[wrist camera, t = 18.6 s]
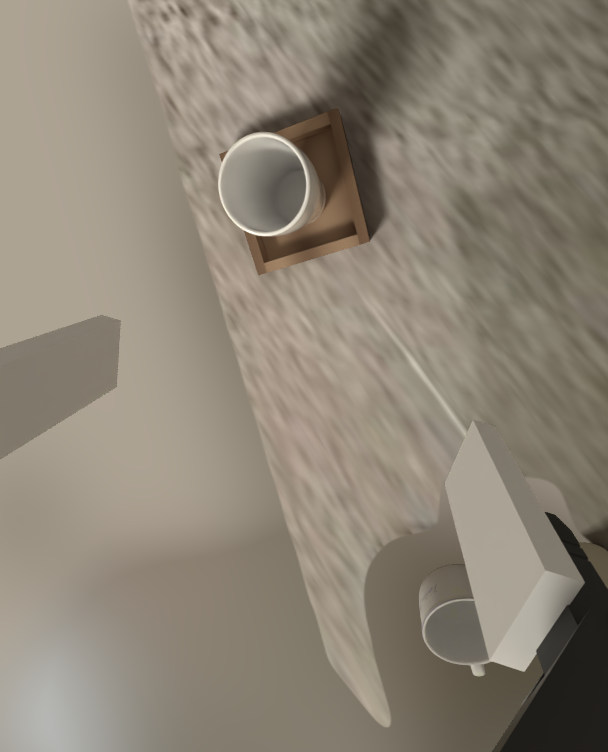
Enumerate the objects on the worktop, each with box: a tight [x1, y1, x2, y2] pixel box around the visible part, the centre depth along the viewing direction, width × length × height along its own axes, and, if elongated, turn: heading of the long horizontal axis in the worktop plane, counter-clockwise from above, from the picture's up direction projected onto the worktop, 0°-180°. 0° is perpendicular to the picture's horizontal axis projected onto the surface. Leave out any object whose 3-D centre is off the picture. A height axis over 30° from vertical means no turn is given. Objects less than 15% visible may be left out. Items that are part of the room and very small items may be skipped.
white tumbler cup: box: [218, 132, 326, 237], centre depth 35 cm, size 7×7×15 cm
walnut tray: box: [220, 108, 370, 275], centre depth 42 cm, size 12×12×3 cm
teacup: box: [419, 564, 491, 676], centre depth 53 cm, size 14×11×8 cm
